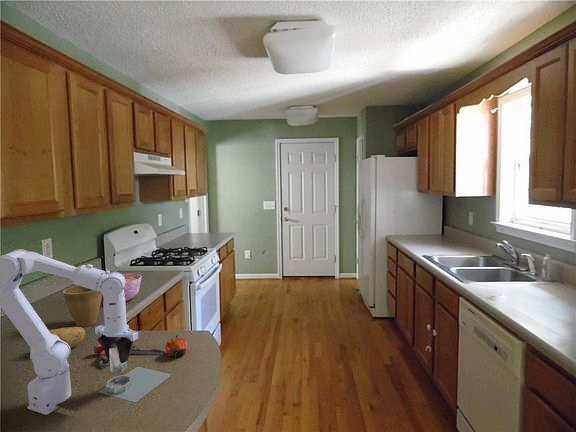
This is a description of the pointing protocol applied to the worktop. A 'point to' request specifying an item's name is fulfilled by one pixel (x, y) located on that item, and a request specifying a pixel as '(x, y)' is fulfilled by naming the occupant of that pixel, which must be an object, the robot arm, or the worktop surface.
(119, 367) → the duct pipe
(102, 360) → the valve
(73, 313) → the plant pot
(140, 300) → the worktop surface
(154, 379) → the mounting plate
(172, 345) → the pomegranate
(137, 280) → the bowl of food
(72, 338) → the potato
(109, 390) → the collar
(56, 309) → the worktop surface
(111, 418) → the worktop surface
